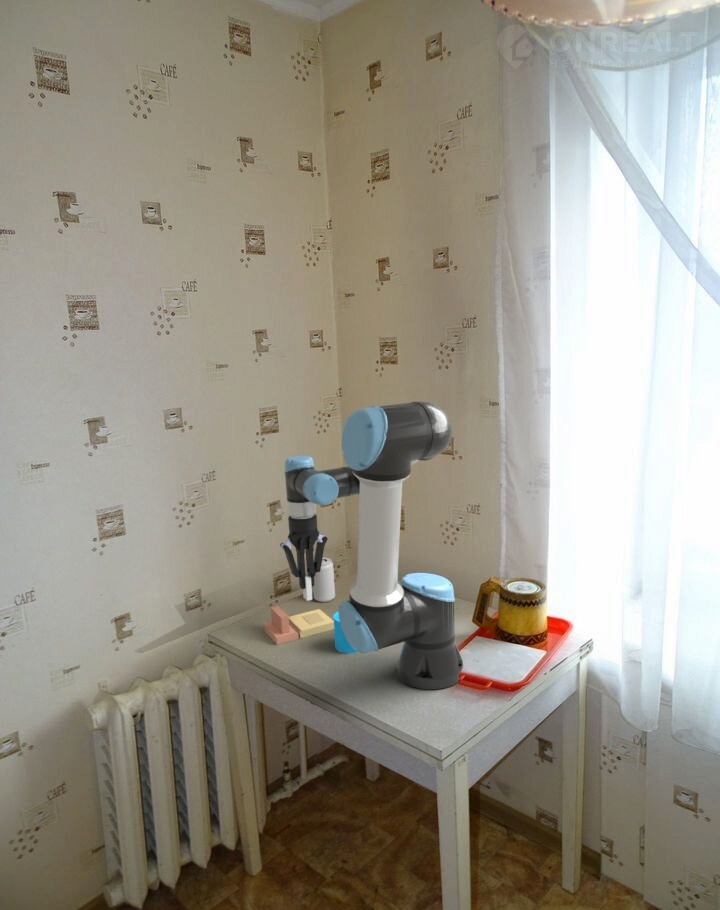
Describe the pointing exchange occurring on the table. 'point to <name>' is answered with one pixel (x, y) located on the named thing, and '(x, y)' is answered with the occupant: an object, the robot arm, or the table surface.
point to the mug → (341, 637)
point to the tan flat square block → (311, 623)
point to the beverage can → (324, 582)
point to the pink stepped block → (280, 627)
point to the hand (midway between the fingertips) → (307, 598)
